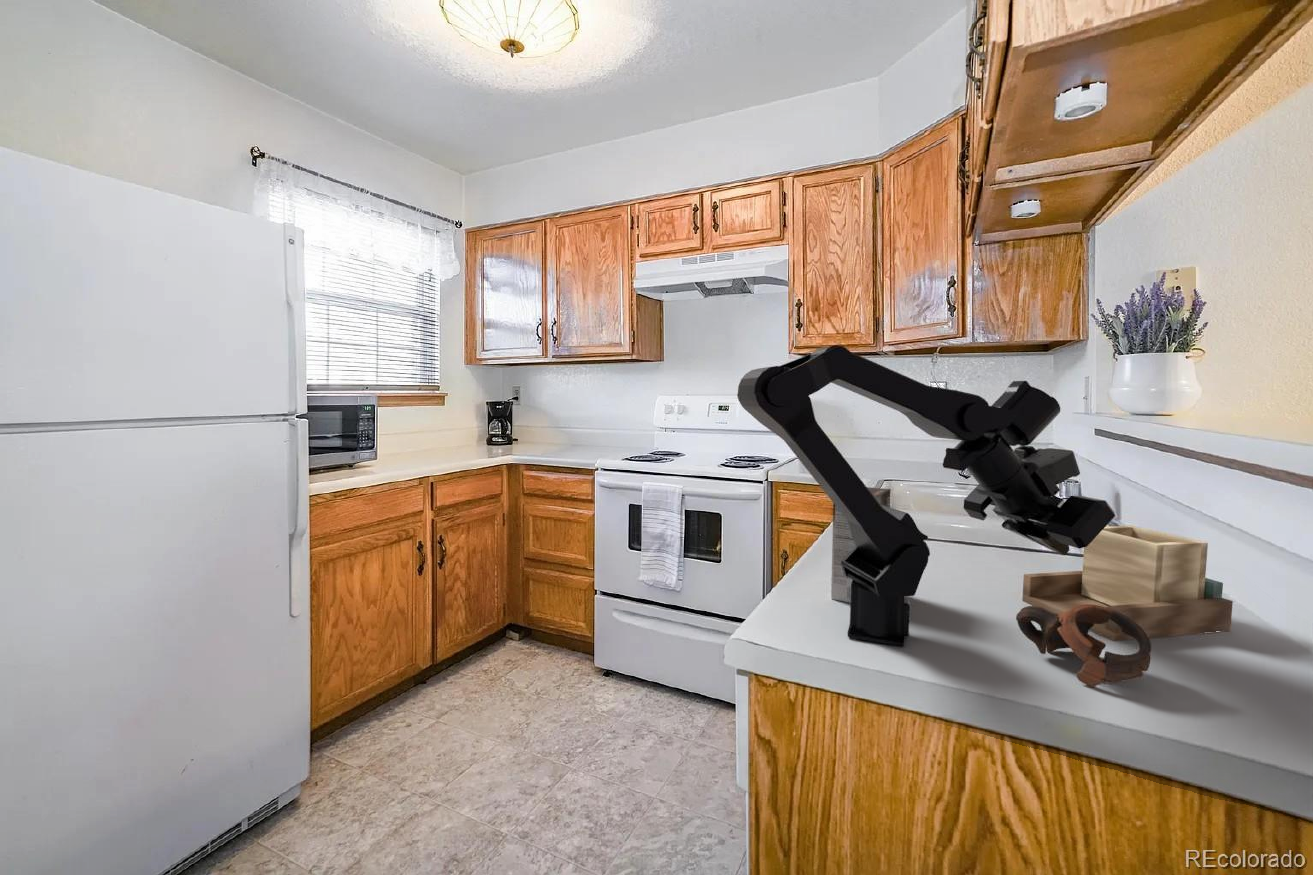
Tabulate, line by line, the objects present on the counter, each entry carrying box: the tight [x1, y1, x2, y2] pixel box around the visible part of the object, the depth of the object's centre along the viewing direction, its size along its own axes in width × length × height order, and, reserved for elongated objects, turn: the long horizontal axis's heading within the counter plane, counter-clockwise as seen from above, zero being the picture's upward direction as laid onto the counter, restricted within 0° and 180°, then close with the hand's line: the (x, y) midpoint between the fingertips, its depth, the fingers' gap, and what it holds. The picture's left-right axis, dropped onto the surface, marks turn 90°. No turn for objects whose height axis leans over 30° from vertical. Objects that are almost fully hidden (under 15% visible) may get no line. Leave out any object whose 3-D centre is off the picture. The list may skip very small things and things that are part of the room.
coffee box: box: [830, 486, 891, 603], centre depth 85 cm, size 9×6×16 cm
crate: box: [1081, 525, 1209, 606], centre depth 78 cm, size 8×10×10 cm
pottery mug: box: [1015, 604, 1152, 688], centre depth 62 cm, size 12×10×8 cm
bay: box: [1022, 570, 1234, 642], centre depth 78 cm, size 18×14×6 cm
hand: (1064, 552), depth 76 cm, fingers closed
